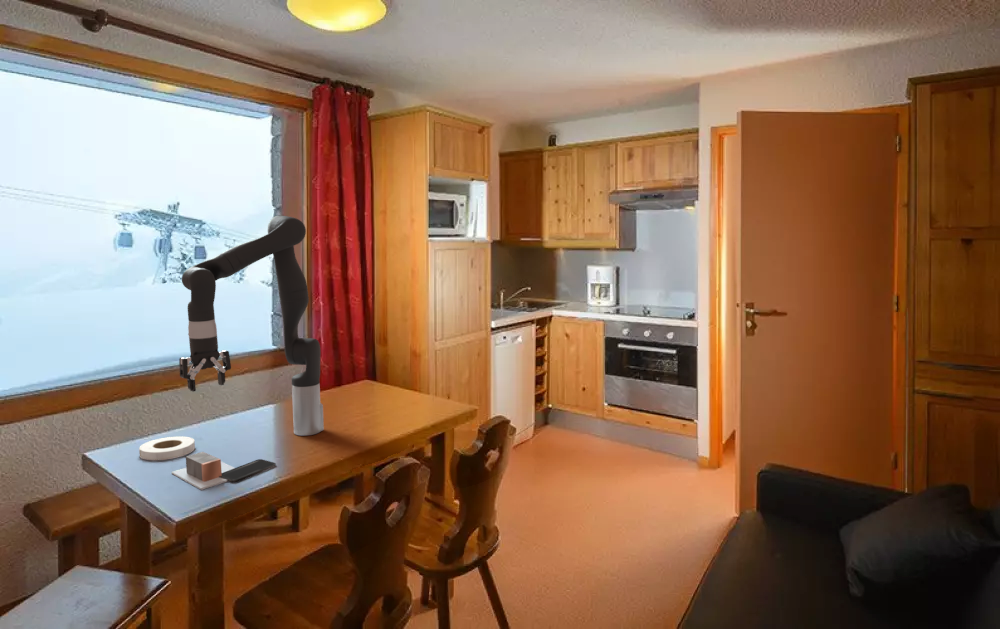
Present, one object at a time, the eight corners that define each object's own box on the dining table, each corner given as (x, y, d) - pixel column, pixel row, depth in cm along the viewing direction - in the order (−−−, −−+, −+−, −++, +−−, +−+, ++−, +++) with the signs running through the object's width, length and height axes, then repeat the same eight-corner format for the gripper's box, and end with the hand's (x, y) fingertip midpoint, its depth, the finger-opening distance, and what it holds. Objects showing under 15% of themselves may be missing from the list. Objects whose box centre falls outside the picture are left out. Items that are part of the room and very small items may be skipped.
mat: (216, 460, 184) (216, 458, 184) (246, 475, 173) (246, 473, 173) (171, 473, 174) (171, 471, 174) (201, 489, 163) (201, 488, 163)
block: (203, 451, 177) (220, 459, 171) (204, 467, 177) (221, 476, 171) (185, 456, 173) (203, 464, 167) (186, 473, 173) (204, 481, 167)
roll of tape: (177, 441, 203) (176, 432, 202) (205, 449, 195) (204, 441, 194) (129, 455, 189) (128, 446, 189) (157, 465, 182) (156, 455, 181)
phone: (215, 475, 171) (259, 458, 184) (216, 479, 171) (259, 462, 184) (234, 481, 167) (277, 463, 180) (234, 484, 168) (277, 467, 181)
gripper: (184, 340, 171) (189, 395, 174) (232, 332, 182) (236, 384, 185) (172, 337, 176) (177, 391, 178) (220, 329, 187) (224, 380, 189)
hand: (207, 387), depth 181 cm, fingers open, 8 cm apart
